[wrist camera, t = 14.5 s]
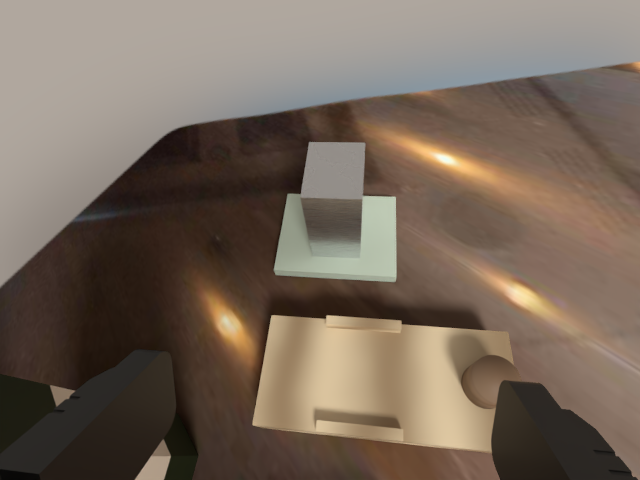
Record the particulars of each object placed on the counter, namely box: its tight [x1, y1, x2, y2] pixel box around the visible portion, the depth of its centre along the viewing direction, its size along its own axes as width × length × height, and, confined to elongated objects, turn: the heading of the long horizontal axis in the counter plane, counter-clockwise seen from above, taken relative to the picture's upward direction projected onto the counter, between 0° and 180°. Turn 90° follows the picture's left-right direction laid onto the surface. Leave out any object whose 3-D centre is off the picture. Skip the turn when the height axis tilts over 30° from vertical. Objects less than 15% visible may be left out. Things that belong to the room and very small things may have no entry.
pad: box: [274, 194, 396, 282], centre depth 31 cm, size 10×8×1 cm
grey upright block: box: [300, 142, 365, 259], centre depth 28 cm, size 4×6×8 cm
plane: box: [252, 315, 522, 453], centre depth 23 cm, size 16×7×5 cm, turn 84°
